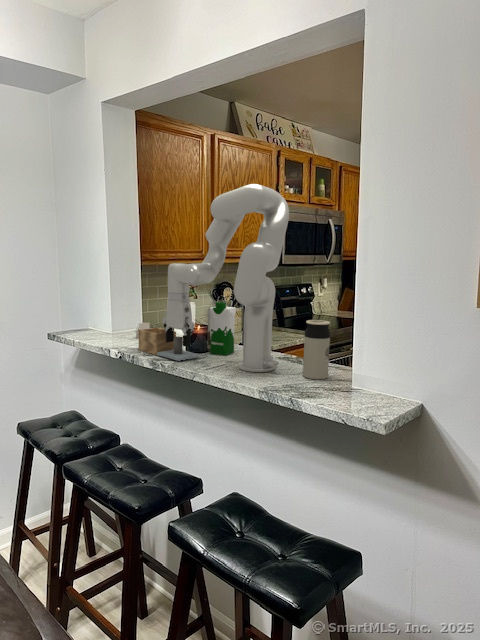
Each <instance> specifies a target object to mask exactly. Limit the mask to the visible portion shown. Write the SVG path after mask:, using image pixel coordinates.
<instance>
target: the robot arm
mask: <svg viewBox="0 0 480 640" xmlns="http://www.w3.org/2000/svg"><path fill="white" fill-rule="evenodd" d="M210 213H211V216H212V217H213V220H212V222H211V223H210V225H209V227H208V228H207V231H206V232H205V238H206V240H207V242H208V252H207V254H206V256H205V257H204V259H203V261H202V262H201V263H188V264H187V263H179V262H177V263H175V262H174V263H170V264H169V265H168V267H167V302H166V303H167V304H166V312H165V317H163V318H162V319H161V320H162V323H163V327H164V329H165V331H166V342H173V341H174V329H177V330H181V331H182V333H183V335H182V337H183V347H190V346H191V342H192V341H191V336H192V335H193V332H194V329H195V326H196V324H195V323H194V322H193V315H192V313H193V312H192V306H191V302H190V299H189V298H190V289H189V288H190V286H196V285H197V286H198V285H199V286H200V285H207V284H210V283H211V282H213V281H214V280H215V278H216V277H217V275H218V273H219V272H220V271H221V269H222V268H223V265H224V264H225V259H226V255H227V250H228V249H227V248H228V246H229V244H230V242H231V240H232V238H233V237H234V235H235V233H236V232H237V230H238V228H239V227H240V226H241V223H242V222H243V220H244V218H245V216H246V215H247V214H252V213H257V214H262V215H263V220H262V223H261V224H260V226H259V231H258V235H257V238H256V239H257V240H256V241H255V242H252V243H250V244H248V245H247V246H246V247H245V248H244V249H243V251H241V252H242V253H241V255H240V257H239V262H238V266H237V272H236V275H235V281H234V285H233V295H234V298H235V300H236V301H237V302H238V303H239V304H240V305H242V306H244V307H245V308H244V313H243V315H244V316H243V341H242V342H243V343H242V344H243V345H242V348H243V349H242V361H241V362H239V363H238V364H237V367H238V369H239V370H241V371H245V372H249V373H250V372H251V373H265V372H271V371H274V370H276V369H277V367H278V366H279V364H280V363H279V361H276V360H274V356H273V355H272V335H273V332H272V330H273V312H274V304H275V299H276V287H275V284H274V281H273V280H272V279H271V278H270V277H268V276H266V275H267V273H269V272H273V271H275V269H276V268H278V265H279V264H280V260H281V255H282V252H283V246H284V242H285V238H286V237H285V236H286V232H287V229H288V223H289V219H290V207H289V205H288V203H287V201H286V199H285V197H283V196H282V194H281V193H279V192H278V191H276V190H275V189H273V188H271V187H267V186H264V185H262V184H257V183H250V184H246V185H244V186H243V185H242V186H241V187H239V188H236V189H233V190H230V191H227V192H224V193H221V194H219V195H218V196H216V197H215V198H214V199H213V200H212V202H211V204H210Z"/></svg>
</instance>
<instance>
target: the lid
mask: <svg viewBox="0 0 480 640" xmlns="http://www.w3.org/2000/svg"><path fill="white" fill-rule="evenodd" d="M183 347H184V346H183V336H176V337H174V350H168V351H162V352H157V355H156V356H159V357H164V358H167V359H170V360H175V361H178V362H182V361H181V360H183V361H187V360H186V359H188V360H193V359H195V358H200V354H199V353H195V352H191V351H187V350H183V349H184V348H183Z"/></svg>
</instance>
